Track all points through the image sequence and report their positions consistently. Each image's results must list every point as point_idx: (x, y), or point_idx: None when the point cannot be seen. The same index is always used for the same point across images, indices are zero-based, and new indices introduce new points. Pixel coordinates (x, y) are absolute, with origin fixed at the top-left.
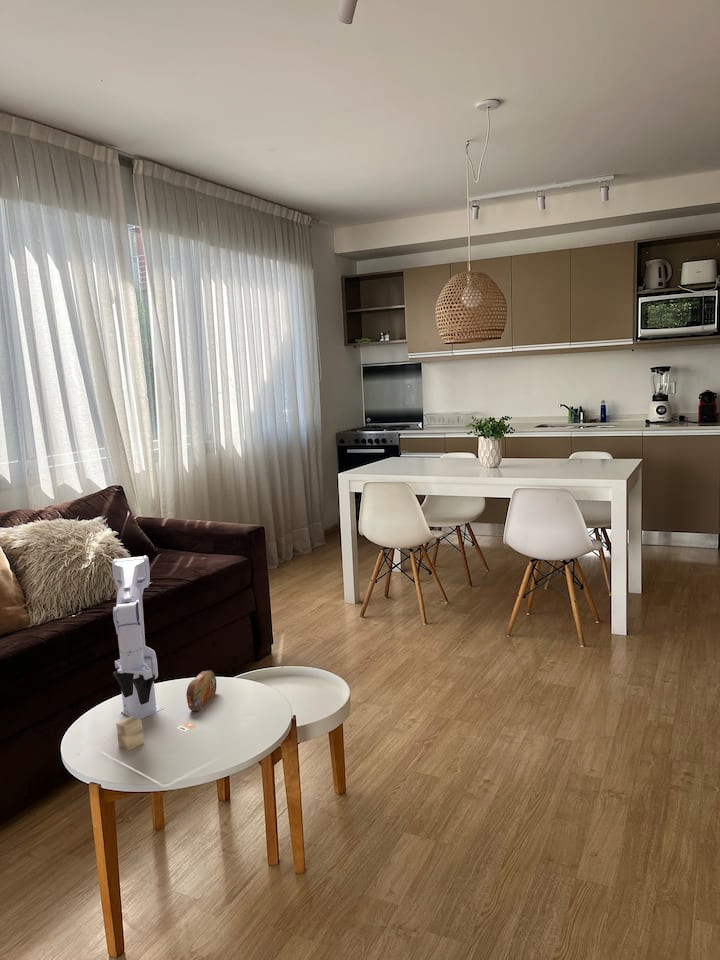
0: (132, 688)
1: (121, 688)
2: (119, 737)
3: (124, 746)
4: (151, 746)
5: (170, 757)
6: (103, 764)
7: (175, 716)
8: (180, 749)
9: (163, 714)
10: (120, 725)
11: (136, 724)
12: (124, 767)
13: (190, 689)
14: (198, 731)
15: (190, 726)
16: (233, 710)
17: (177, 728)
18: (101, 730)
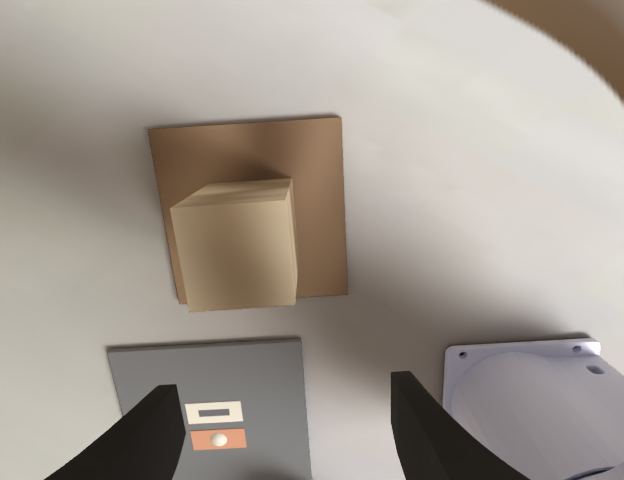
0: (403, 469)
1: (440, 415)
2: (271, 186)
3: (236, 182)
4: None
5: (28, 272)
6: (183, 42)
7: (351, 445)
8: (67, 328)
9: None
10: (236, 203)
11: (186, 274)
12: (80, 98)
13: None
14: None
15: (206, 437)
16: None
17: (231, 402)
18: (520, 203)
